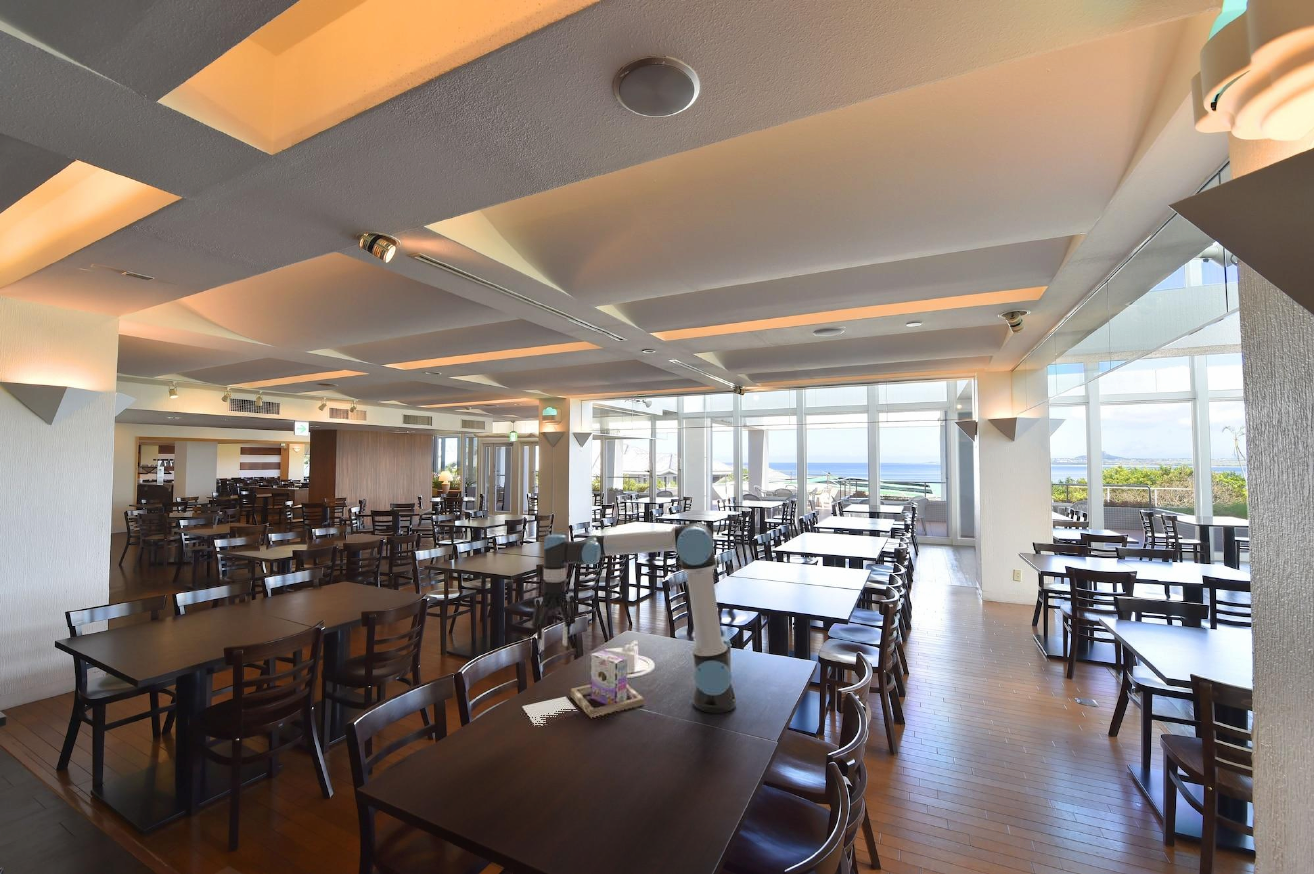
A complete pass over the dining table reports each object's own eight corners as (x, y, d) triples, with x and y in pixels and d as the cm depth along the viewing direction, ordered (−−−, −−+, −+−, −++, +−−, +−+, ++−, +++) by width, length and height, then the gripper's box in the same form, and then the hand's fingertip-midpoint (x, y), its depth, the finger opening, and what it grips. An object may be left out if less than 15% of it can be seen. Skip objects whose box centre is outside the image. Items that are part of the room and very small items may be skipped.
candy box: (627, 705, 190) (627, 658, 191) (615, 710, 186) (616, 663, 187) (601, 693, 200) (602, 649, 200) (589, 698, 195) (590, 653, 196)
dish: (657, 658, 236) (657, 632, 237) (651, 681, 211) (651, 652, 212) (602, 655, 239) (602, 630, 239) (590, 678, 214) (590, 650, 214)
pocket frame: (643, 706, 189) (643, 698, 189) (591, 720, 179) (591, 711, 179) (619, 685, 206) (619, 678, 206) (570, 696, 197) (570, 688, 197)
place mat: (585, 721, 178) (585, 719, 178) (538, 733, 170) (538, 731, 170) (565, 698, 196) (565, 696, 196) (522, 707, 188) (522, 706, 188)
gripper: (578, 574, 193) (577, 638, 192) (522, 580, 183) (521, 647, 182) (585, 578, 187) (585, 645, 186) (528, 585, 177) (527, 655, 176)
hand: (553, 646), depth 184 cm, fingers open, 7 cm apart
